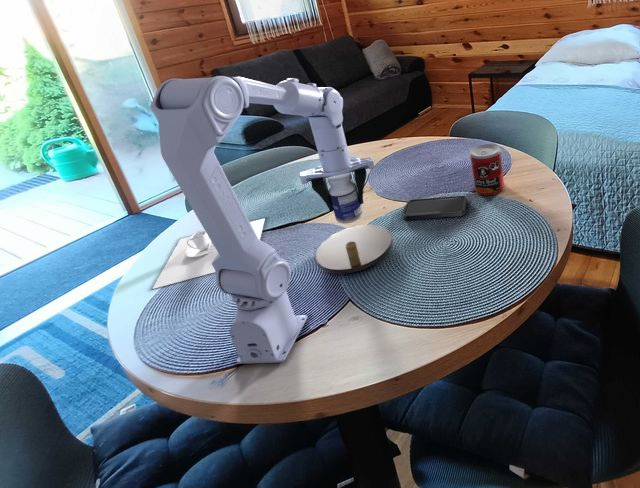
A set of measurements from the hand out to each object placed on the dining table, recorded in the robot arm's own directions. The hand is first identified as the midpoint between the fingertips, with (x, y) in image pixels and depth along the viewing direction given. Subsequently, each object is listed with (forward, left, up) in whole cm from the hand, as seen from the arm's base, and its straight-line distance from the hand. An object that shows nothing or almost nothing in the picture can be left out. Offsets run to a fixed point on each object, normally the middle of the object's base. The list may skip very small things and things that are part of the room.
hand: (347, 205), depth 91 cm
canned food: (+22, -29, -10) cm, 38 cm away
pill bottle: (0, 0, -3) cm, 3 cm away
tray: (-3, -1, -9) cm, 10 cm away
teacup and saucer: (+2, +35, -10) cm, 37 cm away
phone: (+13, -16, -10) cm, 23 cm away
